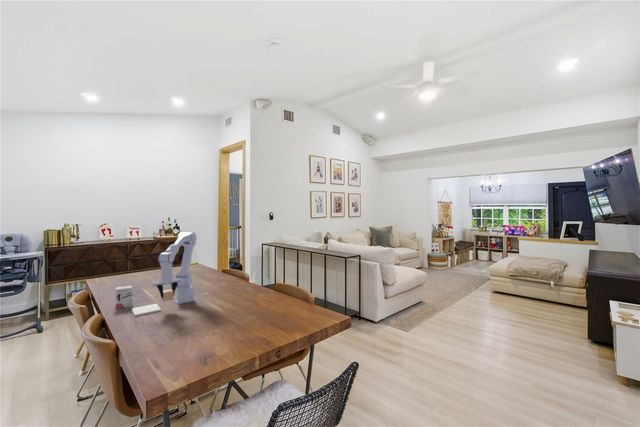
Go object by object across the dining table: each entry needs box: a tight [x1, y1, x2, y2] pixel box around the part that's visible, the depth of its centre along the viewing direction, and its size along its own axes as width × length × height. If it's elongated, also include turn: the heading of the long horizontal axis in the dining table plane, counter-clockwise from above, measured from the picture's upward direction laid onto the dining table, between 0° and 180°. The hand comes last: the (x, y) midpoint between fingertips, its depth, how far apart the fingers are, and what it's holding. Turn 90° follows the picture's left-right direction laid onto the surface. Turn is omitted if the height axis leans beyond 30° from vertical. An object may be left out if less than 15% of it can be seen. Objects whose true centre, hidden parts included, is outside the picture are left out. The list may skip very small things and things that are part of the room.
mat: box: [131, 303, 162, 317], centre depth 171 cm, size 13×13×1 cm
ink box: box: [115, 285, 134, 310], centre depth 179 cm, size 8×5×12 cm, turn 123°
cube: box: [161, 288, 174, 302], centre depth 169 cm, size 5×5×5 cm
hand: (167, 296), depth 169 cm, fingers closed on cube, 5 cm apart
